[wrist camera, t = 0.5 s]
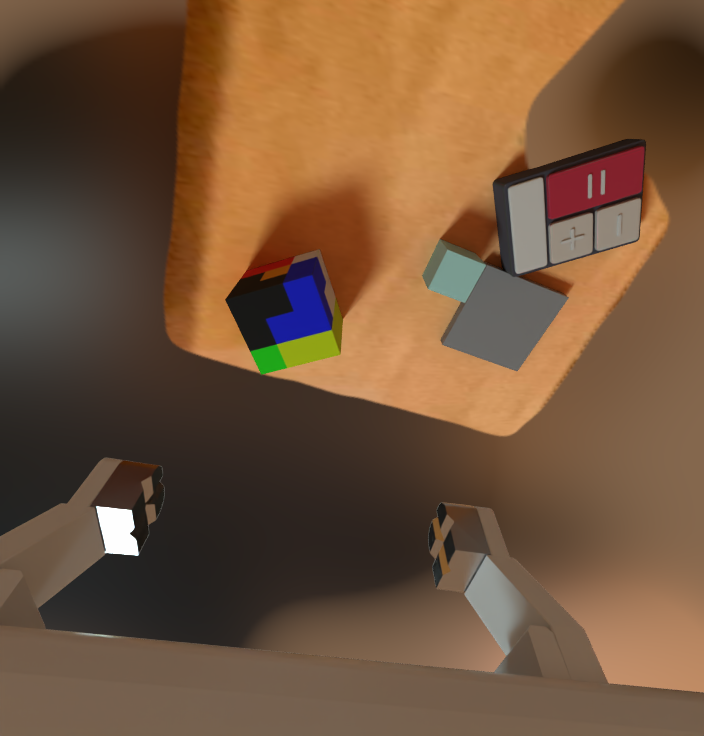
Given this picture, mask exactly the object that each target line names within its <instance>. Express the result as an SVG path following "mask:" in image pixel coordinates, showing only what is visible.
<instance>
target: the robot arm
mask: <svg viewBox="0 0 704 736" xmlns="http://www.w3.org/2000/svg"><path fill="white" fill-rule="evenodd" d="M162 476H163V471H162V467H161V466H158V465H151V464H144V463H139V462H132V461H126V460H118V459H111V458H104V459H103V460H101V461H100V462H99V463H98V464H97V465H96V467H95V468H94V469H93V471H92V472H91V473H90V475H89V476H88V477H87V479H86V480H85V481H84V483H83V484H82V485H81V487H80V488H79V489H78V491H77V492H76V493H75V494H74V496H73V497H72V498H71V500H70V501H69V502H68V504H59V505H58V506H56V507H54V508H52V509H50V510H48V511H47V512H45V513H43V514H41V515H39V516H37V517H35V518H34V519H32V520H30V521H28V522H26V523H25V524H23V525H21V526H19V527H17V528H15V529H13V530H12V531H10V532H8V533H6V534H4V535H2V536H0V736H704V693H703V692H692V691H682V690H672V689H671V690H670V689H661V688H651V687H640V686H630V685H618V684H609V683H608V682H607V679H606V677H605V675H604V673H603V671H602V668H601V666H600V663H599V661H598V659H597V657H596V655H595V652H594V650H593V648H592V646H591V643H590V641H589V639H588V637H587V634H586V633H585V630H584V629H583V628H582V627H581V626H580V625H579V624H578V623H577V622H576V621H575V620H574V619H573V618H572V617H571V616H570V614H569V613H568V612H567V611H566V610H565V609H564V608H563V607H562V606H561V605H560V604H559V603H558V602H557V601H556V600H555V599H554V598H553V597H552V596H551V595H550V594H549V593H548V592H547V591H546V590H545V589H544V588H543V587H542V586H541V585H540V584H539V583H538V582H537V581H536V580H535V579H534V578H533V577H532V576H531V575H530V574H529V572H527V570H526V569H525V568H524V567H523V566H522V565H521V564H520V563H519V562H518V561H517V560H516V559H515V558H510V557H509V554H508V551H507V548H506V545H505V543H504V540H503V537H502V535H501V532H500V529H499V526H498V523H497V521H496V518H495V515H494V512H493V511H492V509H490V508H483V507H473V506H468V505H460V504H452V503H441V504H440V505H439V506H438V508H437V515H438V517H437V518H435V519H434V520H432V523H431V525H430V528H429V536H428V542H429V550H430V553H431V554H432V556H433V557H434V558H435V559H436V560H435V562H434V564H433V567H432V568H433V574H434V579H435V585H436V589H441V590H448V591H455V592H463V593H465V596H466V597H467V599H468V601H469V602H470V603H471V605H472V606H473V608H474V609H475V611H476V612H477V614H478V615H479V617H480V618H481V620H482V621H483V622H484V624H485V625H486V627H487V628H488V630H489V631H490V633H491V634H492V636H493V637H494V639H495V640H496V642H497V643H498V644H499V646H500V647H501V649H502V650H503V651H504V653H505V655H506V657H505V659H504V660H503V661H502V663H501V664H500V665H499V667H498V668H497V669H496V670H495V672H484V671H483V672H482V671H473V670H463V669H452V668H441V667H432V666H421V665H411V664H401V663H400V664H399V663H390V662H380V661H370V660H359V659H349V658H339V657H328V656H318V655H307V654H296V653H287V652H276V651H265V650H256V649H244V648H235V647H224V646H213V645H203V644H193V643H182V642H172V641H161V640H150V639H141V638H140V639H139V638H130V637H120V636H110V635H99V634H89V633H78V632H67V631H56V630H47V629H45V625H44V623H43V620H42V618H41V616H40V613H39V611H38V609H37V608H39V607H40V606H41V605H42V604H44V603H45V602H46V601H47V600H49V599H50V598H51V597H52V596H54V595H55V594H56V593H57V592H59V591H60V590H61V589H62V588H64V587H65V586H66V585H67V584H68V583H70V582H71V581H72V580H74V579H75V578H76V577H77V576H79V575H80V574H81V573H82V572H84V571H85V570H86V569H87V568H88V567H90V566H91V565H92V564H94V563H95V562H96V561H97V560H99V559H100V558H101V557H102V556H104V555H105V552H108V553H119V554H131V555H139V552H140V551H141V549H142V547H143V545H144V543H145V541H146V539H147V537H148V535H149V527H148V525H149V524H150V523H152V522H153V521H155V520H156V519H157V517H158V515H159V513H160V511H161V508H162V504H163V501H164V493H165V491H164V486H163V485H162V483H161V482H160V480H161V478H162Z"/></svg>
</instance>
